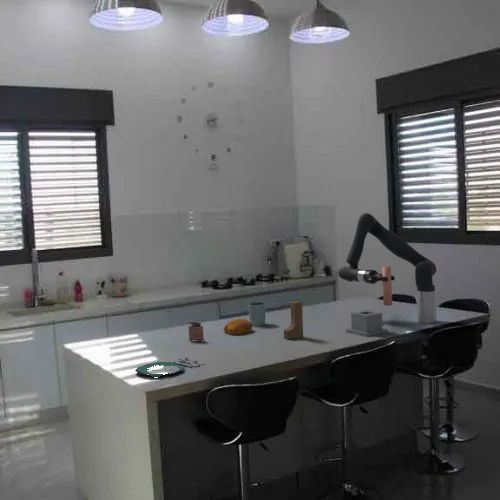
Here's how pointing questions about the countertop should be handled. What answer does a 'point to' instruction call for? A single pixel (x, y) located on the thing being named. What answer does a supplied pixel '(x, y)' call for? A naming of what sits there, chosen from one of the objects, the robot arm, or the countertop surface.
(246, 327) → the bread loaf
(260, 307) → the drinking glass
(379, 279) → the robot arm
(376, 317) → the block
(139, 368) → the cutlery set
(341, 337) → the countertop surface
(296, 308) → the wooden block
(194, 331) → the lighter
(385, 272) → the peg
